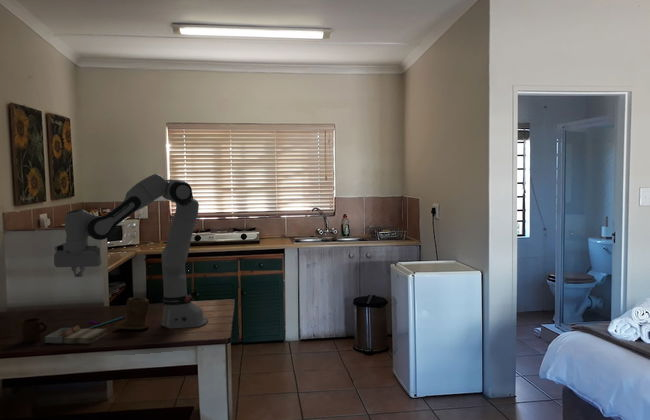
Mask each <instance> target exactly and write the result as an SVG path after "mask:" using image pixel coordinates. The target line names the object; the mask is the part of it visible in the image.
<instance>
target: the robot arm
mask: <svg viewBox="0 0 650 420" xmlns="http://www.w3.org/2000/svg"><path fill="white" fill-rule="evenodd" d="M160 197H163V198H164V199H166V200H167V201H170V202H173V203H174V204H175V211H174V215H173V219H172V221H171V224H170V229H169V232H168V237H167V240H166V244H165V247H164V248H163V250H162V251H161V271H162V282H163V285H162V287H163V295H162V307H163V314H162V315H163V316H162V320H161V326H162V327H164V328H167V329H170V330H171V329H181V328H182V329H185V328H199V327H203V326H205V325H206V324H208V323H209V318H208V317H205V316H204V313H203V309H202V308H200V307H199V306H198V305H197V304H195V303H194V302H192V295H189V294H188V292H187V291H188V289H187V288H188V287H187V275H186V262H187V259H188V256H189V250H190V247H191V242H192V237H193V233H194V230H195V227H196V223H197V219H198V215H199V210H200V204H199V201H197V200H196V199H195V198H194V196H193V189H192V187H191V185H190V183H188V182H187V181H184V180H181V179H166V178H164V176H162V175H161V174H158V173H154V174H151V175H149V176H147V177H146V178H144V179H142V180H140V181H139V182H137V183H136V184H134V185H133V186H132V187H131V188H130V189H129V190H128V191H127V192H126V194H125V196H124V199H123V201H122V202H121V203H120V204H119V205H117V206H116V207H115V208H114V209H112V210H111V211H110V212H108V213H107V214H104V215H101V216H100V215H96V214H93V213H91V212H88V211H86V210H85V209H81V208H79V209H75V210H70V211H69V212H67V213H66V214H65V219H64V231H65V234H66V237H65V243H62V244H58V245H56V246H54V251H55V252H54V255H53V265H54V267H56V268H71V271H72V273H74V274H73V275H74V278H82V277H83V275H84V271H85V269H86V268H89V267H90V268H93V267H94V268H95V267H96V268H98V267H100V266H101V264H102V256H101V249H100V247H99V246H97V245H89V238H88V237H91V238H93V239H94V240H97V241H102V240H106V239H107V238H109V237H110V236H111V235H112V233H113V231H114V230H115V228H116V227H117V226H118V225H119V224H120V223H121V222H123V221H124V220H125V219H127V218H129V216H131V215H132V214H133V213H135V212H137V211H140V210H141V209H144V208H146V207H147V206H149V205H150V204H152V203H153V202H155V201H156V200H157V199H158V198H160ZM78 268H79V270H80V271H79V272H78V270H77V269H78Z"/></svg>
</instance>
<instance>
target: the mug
mask: <svg viewBox="0 0 650 420" xmlns="http://www.w3.org/2000/svg"><path fill="white" fill-rule="evenodd" d="M42 326H43V327H42ZM47 330H48V324H47V322H46V321H43V320H42V319H41V318H38V317H36V318H35V317H34V318H33V317H32V318H26V319H24V320H22V321H21V332H22V333H21V335H22V342H23V343H25V344H31V343H36V342H40V341H41V340H42V339H43V338H42V337H43V335H42V334H43V333H44V332H46V331H47ZM39 340H40V341H39Z"/></svg>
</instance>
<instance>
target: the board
mask: <svg viewBox="0 0 650 420" xmlns="http://www.w3.org/2000/svg"><path fill="white" fill-rule="evenodd" d="M106 335H108V328H91V329H87V328H80V329H79V330H77V331H75V332H73V333H72V334H70V335H68V336H66V337H64V338H63V342H64V343H63V344H93V343H94V342H97V341H99V340H101V338H104V336H106Z"/></svg>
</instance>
